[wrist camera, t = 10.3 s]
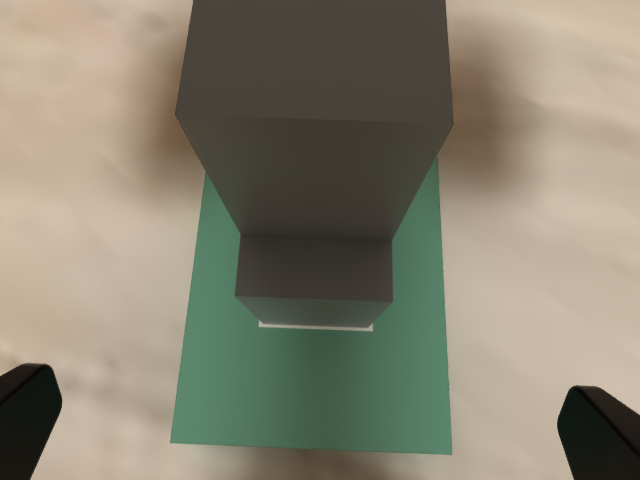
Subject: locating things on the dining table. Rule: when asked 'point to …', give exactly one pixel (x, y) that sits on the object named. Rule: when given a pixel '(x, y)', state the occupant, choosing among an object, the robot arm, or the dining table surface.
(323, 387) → the board
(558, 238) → the dining table surface
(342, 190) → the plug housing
